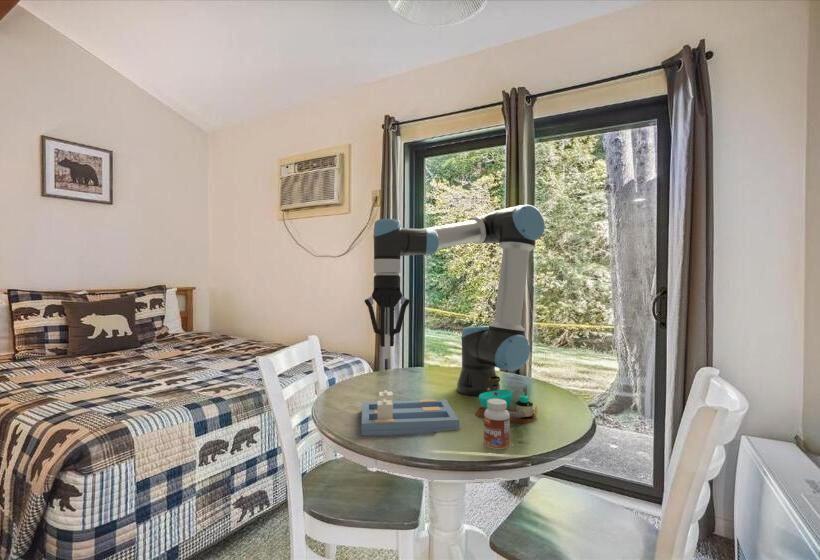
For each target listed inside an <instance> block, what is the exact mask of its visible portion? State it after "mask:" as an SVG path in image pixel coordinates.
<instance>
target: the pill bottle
mask: <svg viewBox="0 0 820 560" xmlns="http://www.w3.org/2000/svg"><path fill="white" fill-rule="evenodd" d="M487 407H488V409H486V410H485V412H484V418H483V445H484V446H486V447H487V448H490V449H496V450H502V449H508V448H509V447H510V438H511V437H510V433H511V432H510V427H511V426H510V424H511V423H510V414H509V412H508V411H507V410H506V408H507V402H506V401H505V400H502V399H489V400H487Z"/></svg>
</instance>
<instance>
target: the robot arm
mask: <svg viewBox="0 0 820 560" xmlns="http://www.w3.org/2000/svg"><path fill="white" fill-rule="evenodd" d="M545 229H546V224H545V219H544V216H543V214H542V213H541V211H540V209H538V208H537V207H536V206H533V205H531V204H523V205H522V204H520V205H516V206H511V207H507V208H501V209H498V210H495V211H493V212H489V213H487V214H483V215H480V216H474V217H472V218H471V219H470V220H467V221H462V222H455V223H449V224H443V225H436V226H432V227H431V226H429V227H425V228H424V227H423V228H409V227H408V228H407V227H402V224H401V220H399V219H395V218H382V219H378V220H376V221H374V227H373V236H372V237H373V273H374V274H375V275H374V276H373V291H372V293H371V296H369V297H368V298H366V299H364V300H363V301H364V303H365V305H366V307H367V308H368V312H369V316H370V321H371V325H372V329H373V332H374V333H375V334H377V335H379V344H380V345H379V346H380V347H381V348H382V347H383V358H384V360H390V359H391V347H394V345H395V335H396V334H399V333H400V332H401V331H402V326H403V321H404V318H405V314H406V310H407V307H408V305H409V304H410V302H411V301H410V299H408V298H406V297H405V296H403V293H402V291H401V276H400V274H401V257H404V256H416V255H418V256H419V255H421V256H422V255H423V256H426V255H427V256H429V255H432V256H433V255H434V254H436V253H437V252H438V250H440V249H444V248H445V249H446V248H449V247H451V248H452V247H455V246H460V245H467V244H471V243H475V244H476V245H480V244H492V243H493V244H495V243H496V244H498V245H499V247H500V248H501V250H502V253H501V254H502V256H501V262H500V263H501V264H500V269H499V271H500V272H499V280H498V285H497V286H498V288H497V296H496V305H495V312H494V319H493V322H491V323H490V324H488V325H480V326H466V327H463V329H461V330H462V331H461V371H460V374H459V377H458V379H457V383H456V391H457V392H458V393H460V394H463V395H467V396H473V397H479V395H480V394H482V393H484V392H489V390H490V391H496V383H491V385H490V381H489V377H491V376H498V375H497V372H496V368H498V369H500V370H504V371H505V370H506V371H510V372H511V371H514V372H515V371H517V370H519V369H521V368H522V367H523V366H524V365H525V364H526V363H527V362H528V360H529V358H530V354H531V344H530V343H529V339H527V338H526V337H525V328H524V327H523V326H522V315H523V307H524V299H525V291H526V283H527V275H528V266H529V257H530V253H531V251H533V250H535V247H536V240H538V239H540V238H541V236H543V235H544V233H545ZM374 301H375V303H376V304H377V306H378V307H379V328H378V323H377V319H376V315H375V312H374V307H373V304H374ZM399 301H400V304H401V306H400V308H399V313H398V315H397V316H398V317H397V320H396V325H395V307H396V305H398V303H399ZM386 308H388V332H389V333H387V334H385V333H386ZM491 380H498V379H497V378H492V379H491ZM489 385H490V387H489ZM487 388H489V390H488V389H487ZM497 390H501V384H500V381H499V382H497Z"/></svg>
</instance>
